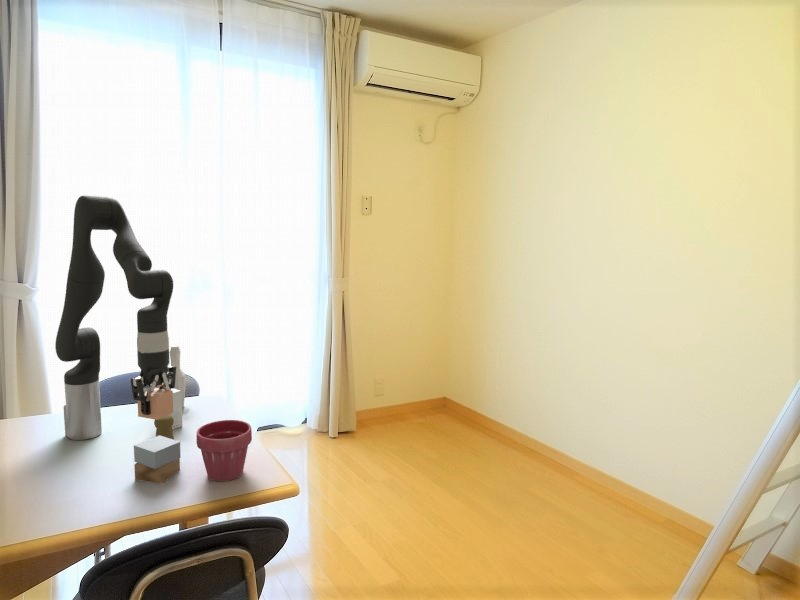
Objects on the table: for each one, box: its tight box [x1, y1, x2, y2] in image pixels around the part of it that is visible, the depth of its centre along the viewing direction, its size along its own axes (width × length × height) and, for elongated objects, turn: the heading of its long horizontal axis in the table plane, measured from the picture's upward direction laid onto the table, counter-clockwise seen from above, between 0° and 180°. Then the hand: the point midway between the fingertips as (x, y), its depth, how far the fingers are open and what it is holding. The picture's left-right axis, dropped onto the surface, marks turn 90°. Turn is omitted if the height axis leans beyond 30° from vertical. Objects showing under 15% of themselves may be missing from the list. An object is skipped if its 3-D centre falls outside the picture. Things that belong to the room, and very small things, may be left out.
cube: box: [137, 387, 173, 421], centre depth 149 cm, size 6×6×6 cm
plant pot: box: [196, 419, 253, 482], centre depth 153 cm, size 14×14×13 cm
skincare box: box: [169, 389, 184, 430], centre depth 185 cm, size 6×4×12 cm
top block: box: [133, 435, 181, 469], centre depth 151 cm, size 8×8×4 cm
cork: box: [153, 415, 175, 440], centre depth 165 cm, size 6×6×11 cm
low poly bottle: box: [169, 345, 187, 408], centre depth 201 cm, size 6×6×22 cm
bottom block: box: [133, 457, 181, 484], centre depth 152 cm, size 8×8×4 cm
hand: (155, 410), depth 149 cm, fingers closed on cube, 6 cm apart
